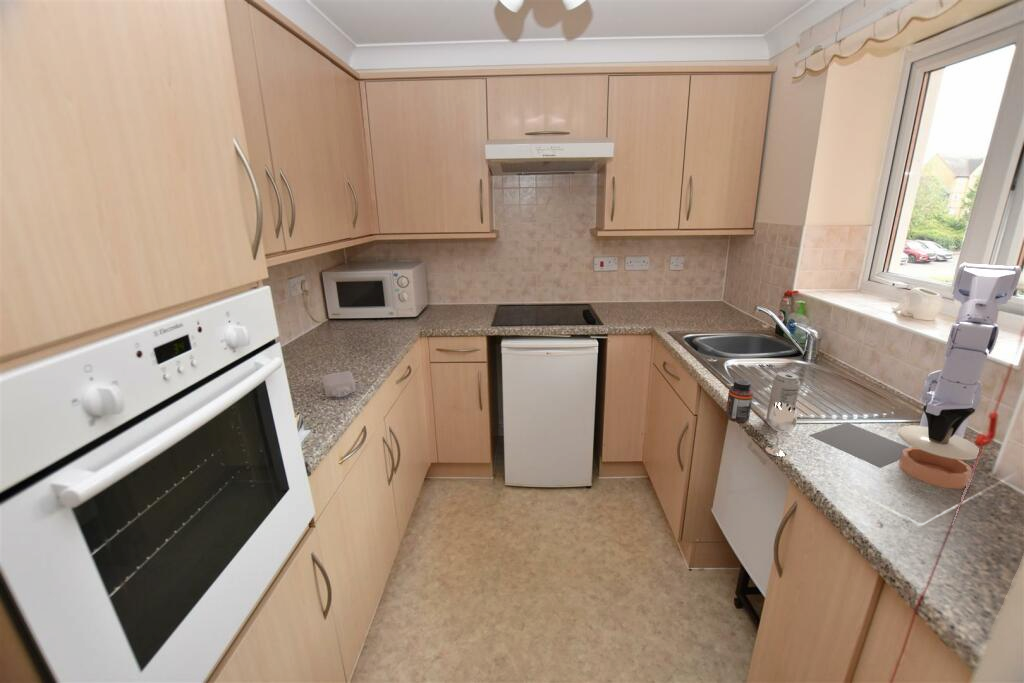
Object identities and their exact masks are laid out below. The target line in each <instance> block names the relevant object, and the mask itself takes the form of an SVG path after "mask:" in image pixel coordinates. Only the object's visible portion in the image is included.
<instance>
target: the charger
mask: <svg viewBox="0 0 1024 683" xmlns="http://www.w3.org/2000/svg"><path fill="white" fill-rule="evenodd" d="M322 383H323V388H324V394H325V397H327V398H332V397H337V398H341V397H346V396H348V395H349V394H353V393H356V391H357V388H356V381H355V379H354V375H353V373H352V371H349V370H345V371H340V372H338V371H337V372H334V373H327V374H324V375H323V376H322Z"/></svg>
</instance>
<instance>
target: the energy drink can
mask: <svg viewBox="0 0 1024 683" xmlns="http://www.w3.org/2000/svg"><path fill="white" fill-rule="evenodd" d="M799 378H800V377H799V375H798V374H796V373H793V372H789V371H779V372H777V373H776V375H775V376H774V377H773V379H772V385H771V391H770V395H769V401H768V406H767V412H766V417H765V422H766V424H767V425H768V426H769V427H770V425H769V423H768V415H769V412H770V409H771V407H772V406H773V404H774V403H777V402H781V403H787V404H790V405H792V406H794V407H795V408H796V406H797V402H798V397H799V391H800V388H801V381H800V379H799Z"/></svg>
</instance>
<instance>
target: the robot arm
mask: <svg viewBox="0 0 1024 683" xmlns="http://www.w3.org/2000/svg"><path fill="white" fill-rule="evenodd" d="M1022 270H1023V269H1022V268H1021V267H1020V265H1015V266H1013V265H1012V266H1009V265H996V264H995V265H994V264H980V263H967V262H963V263H962V264H960V265H959V267H958V271H957V274H956V278H955V280H954V284H953V291H952V293H951V294H952V295H953V296H952V299H954V300H956V301H958V302H960V303H961V306H960V307H959V310H958V314H957V316H956V320H955V322H953V323H952V326H951V328H950V332H949V334H948V338H947V341H946V351H945V355H944V356H945V358H944V361H943V363H942V367H941V369H939V370H935V371H932V372H930V373H929V374H927V377H926V380H925V382H924V385H923V388H922V391H921V394H920V399H919V401H920V402H921V404H923V405H924V406H923V412H922V413H923V414H922V416H921V420H920V423H919V426H924V427H928V436H929V438H930V439H933V440H936V441H938V442H942V441H943V440H944V438H945V437H946V435H947V433H948V431H949V429H950V428H951V427H953V431H952V434H951V437H952V436H953V435H954V434H955V435H957V436H960V437H962V438H964V436H965V433H966V431H967V427H968V425H969V421H970V416H971V415H973V414H976V412H977V409H978V407H979V404H980V400H981V398H982V390H983V382H981V380H980V379H981V376H982V373H983V370H984V367H985V363H986V361H987V358H988V355H990V354H992V352H993V350H994V349H995V346H996V343H997V339H998V337H999V330H1000V329H999V323H997V322H998V317H999V311H1000V308H999V306H1002V305H1005V304H1008V301H1009V300H1011V298H1012V296H1013V294H1014V293H1015V291H1016V289H1017V286H1018V283H1019V282H1020V281H1019V280H1020V278H1021V274H1022ZM987 350H988V353H987ZM951 437H950V438H951Z"/></svg>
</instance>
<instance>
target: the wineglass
mask: <svg viewBox="0 0 1024 683" xmlns="http://www.w3.org/2000/svg"><path fill="white" fill-rule="evenodd" d="M797 413H798V412H797V408H796V407H794V406H792V405H790V404H787V403H781V402H777V403H774V404H773V406H772V407H771V409H770V412H769V415H768V423H769V425H770V426H769V425H768V426H769V427H770V428H771V429H773V430H774V431H776V432H777V433H776V442H775V445H774V446H765V452H767V453H768V454H770V455H772V456H775V457H785V456H787V453H785V452H783V450H782V449H781V448H779V442H780V439H781V437H782V433H788V432H789V433H790V432H792V431H793V430H794V429H795V427H796V425H797V423H798V422H797V420H798V418H797V416H798V414H797Z"/></svg>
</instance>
